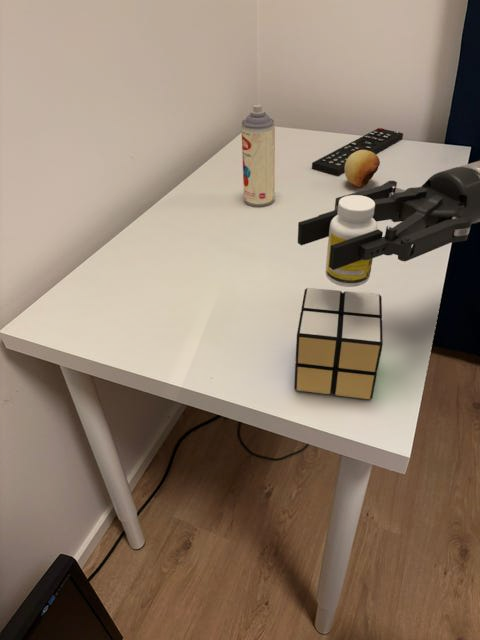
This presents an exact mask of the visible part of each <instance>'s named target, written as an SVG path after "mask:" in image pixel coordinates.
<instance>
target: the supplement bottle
mask: <svg viewBox="0 0 480 640" xmlns="http://www.w3.org/2000/svg"><path fill="white" fill-rule="evenodd" d="M344 196H345V195H344ZM374 209H375V202H374V201H373V200H372V199H370V198H368V197H365V196H361V195H350V196H345V197H343V198H341V199H340V200H339V203H338V215H337V216H335V217H334V218H333V219H332V221H331V223H330V229H329V237H328V241H327V253H326V261H325V277H326V278H327V279H328V280H329V282H331V283H332V284H334V285H337V286H339V287H345V288H354V287H359V286H362V285H364V284H365V283H367V282H368V281H369V279H370V277H371V272H372V265H373V261H374V258H372V259H370V260H363V259H362V260H360V261H357V262H354V263H351V264H349V265H346V266H343V267H340V268H338V269H335V270H332V269H331V268H330V267H329V260H330V249H331V245H334V244H337V243H340V242H343V241H346V240H349V239H351V238H354V237H357V236H360V235H363V234H366V233H369V232H372V231H375V230H378V229H379V227H378V223H377V222H376V221H375V220H374V219H373V218H372V217H373V215H374Z"/></svg>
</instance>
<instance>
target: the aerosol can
mask: <svg viewBox="0 0 480 640" xmlns="http://www.w3.org/2000/svg"><path fill="white" fill-rule="evenodd" d="M252 106H253V107H252V108H253V109H252V111H251V112H250V113H249V114H248V115H247V116H246V117H245V119H243V120H242V121H241V127H240V128H241V129H240V130H241V153H242V157H241V158H242V180H243V181H242V183H243V203H244V204H245V205H247V206H249V207H252V208H264V207H265V208H266V207H268V206H271V205H272V204H274V202H275V193H276V192H275V187H276V186H275V185H276V181H275V180H276V178H275V177H276V173H275V172H276V125H275V120H274V119H273V118H271V117H270V116H269V114H267V113H266V112H265V111H264V110H263V105H262V104H254V105H252Z"/></svg>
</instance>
